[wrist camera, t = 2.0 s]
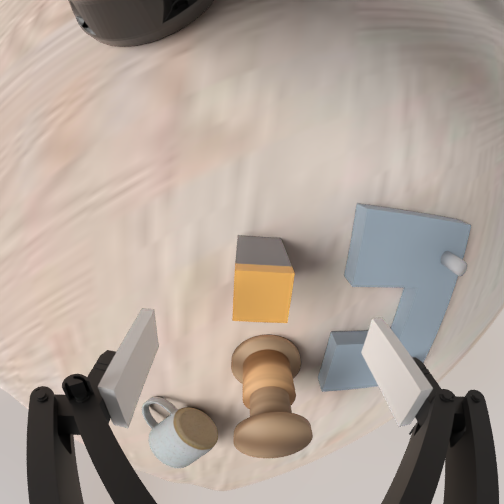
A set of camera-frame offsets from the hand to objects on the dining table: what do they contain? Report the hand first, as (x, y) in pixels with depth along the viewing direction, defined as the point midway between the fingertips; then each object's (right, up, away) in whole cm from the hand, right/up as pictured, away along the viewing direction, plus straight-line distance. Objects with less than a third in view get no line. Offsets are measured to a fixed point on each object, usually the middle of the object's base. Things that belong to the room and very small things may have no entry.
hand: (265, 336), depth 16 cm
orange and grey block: (0, +4, +11) cm, 12 cm away
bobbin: (+1, -8, +15) cm, 17 cm away
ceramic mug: (-12, -19, +20) cm, 30 cm away
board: (+15, -1, +13) cm, 20 cm away
